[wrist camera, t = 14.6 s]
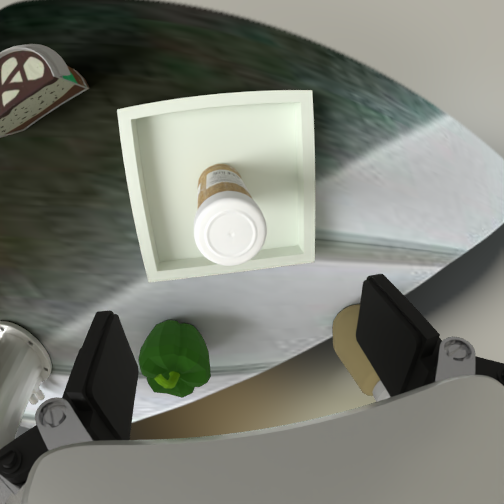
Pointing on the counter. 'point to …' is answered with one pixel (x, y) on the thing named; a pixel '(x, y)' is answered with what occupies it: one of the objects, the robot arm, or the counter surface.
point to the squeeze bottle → (355, 354)
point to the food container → (33, 85)
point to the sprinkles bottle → (227, 218)
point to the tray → (220, 152)
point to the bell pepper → (175, 359)
